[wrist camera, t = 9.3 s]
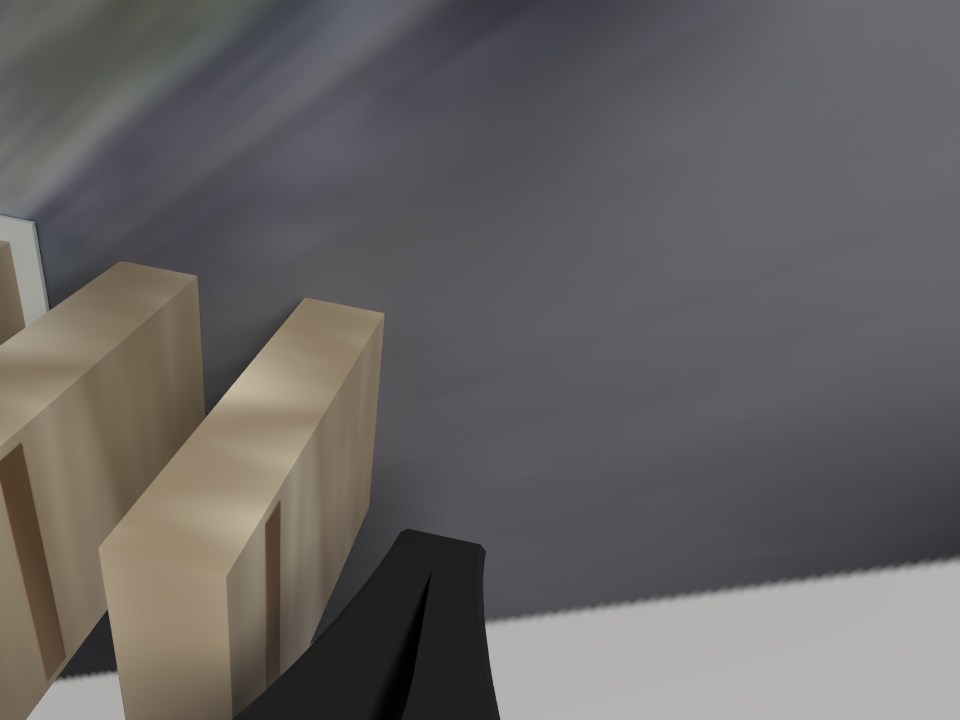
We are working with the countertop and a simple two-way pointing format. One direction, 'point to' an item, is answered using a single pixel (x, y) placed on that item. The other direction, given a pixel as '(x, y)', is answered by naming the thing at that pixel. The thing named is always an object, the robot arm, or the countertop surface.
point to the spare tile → (9, 296)
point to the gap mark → (26, 266)
